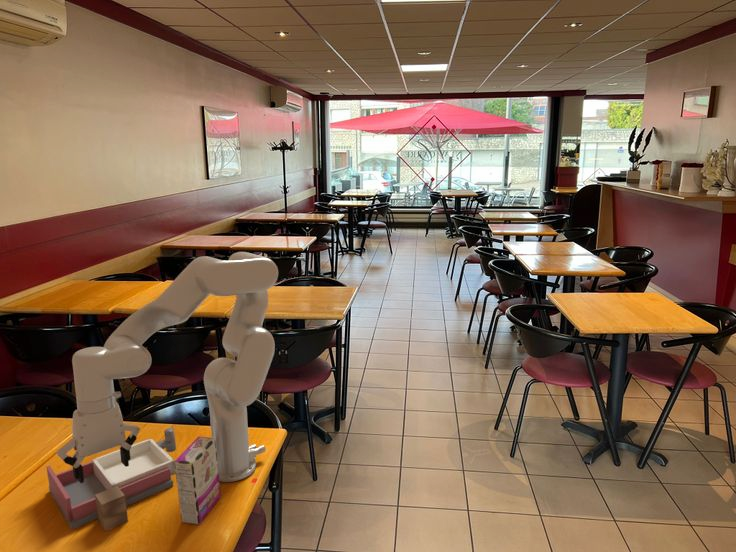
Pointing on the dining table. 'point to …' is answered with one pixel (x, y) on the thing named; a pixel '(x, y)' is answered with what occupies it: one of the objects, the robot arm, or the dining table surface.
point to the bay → (81, 496)
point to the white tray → (136, 462)
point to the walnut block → (111, 508)
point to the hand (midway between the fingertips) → (103, 472)
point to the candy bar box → (197, 480)
